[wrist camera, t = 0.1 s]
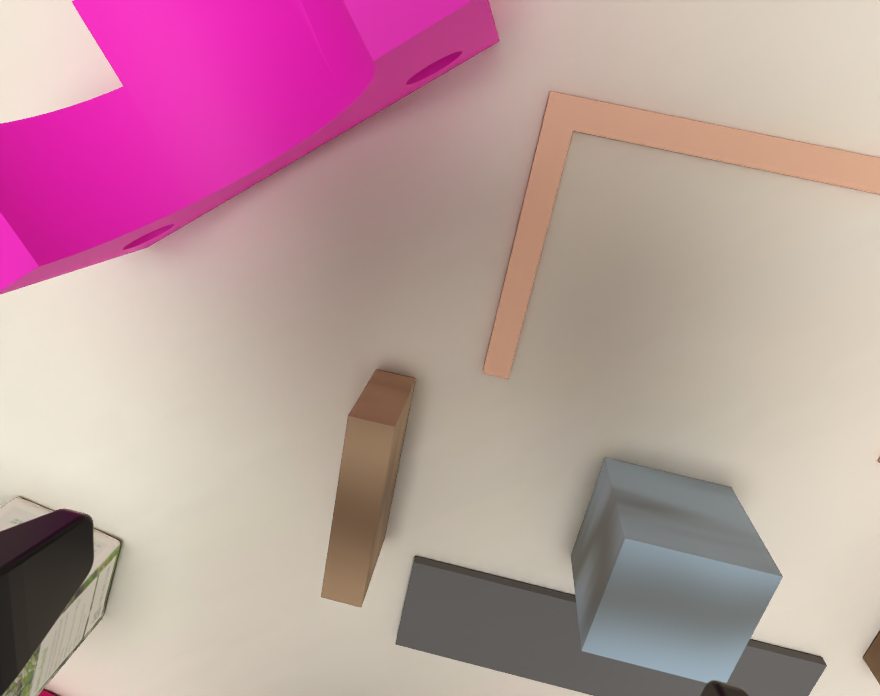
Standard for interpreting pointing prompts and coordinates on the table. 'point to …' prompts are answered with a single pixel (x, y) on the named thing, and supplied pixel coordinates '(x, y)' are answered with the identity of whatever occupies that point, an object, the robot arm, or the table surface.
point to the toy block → (207, 113)
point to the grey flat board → (560, 639)
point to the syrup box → (75, 616)
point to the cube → (669, 573)
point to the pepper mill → (45, 693)
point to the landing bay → (652, 132)
